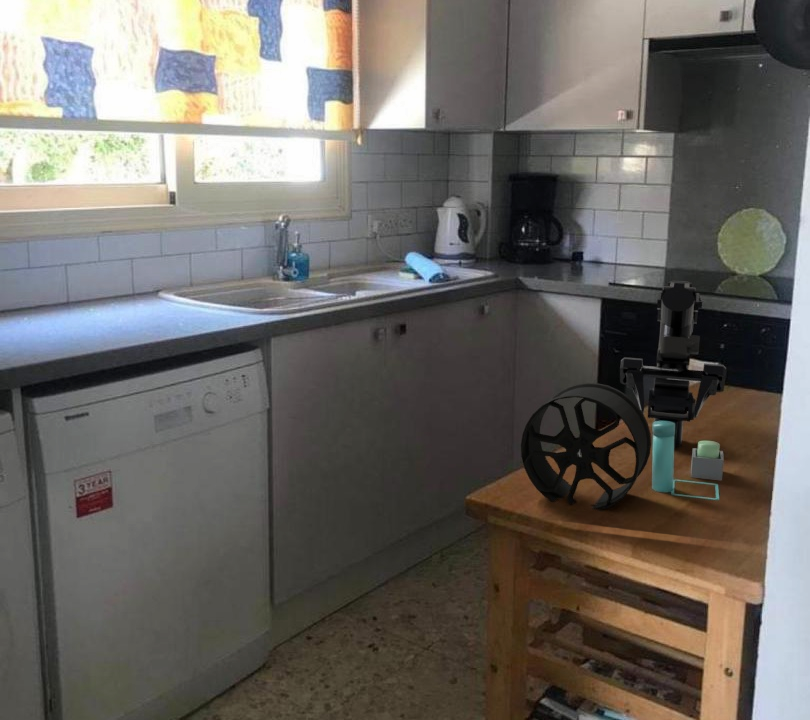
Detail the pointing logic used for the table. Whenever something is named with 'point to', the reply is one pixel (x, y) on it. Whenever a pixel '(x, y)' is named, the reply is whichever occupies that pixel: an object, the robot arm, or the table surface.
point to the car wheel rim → (584, 445)
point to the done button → (708, 449)
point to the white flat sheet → (697, 496)
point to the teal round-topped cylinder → (663, 456)
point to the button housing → (707, 466)
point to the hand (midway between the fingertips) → (668, 414)
